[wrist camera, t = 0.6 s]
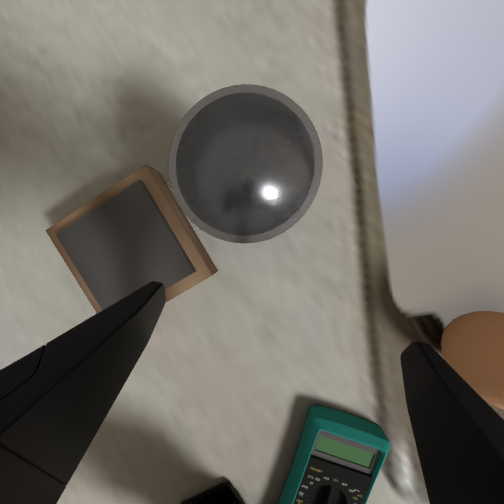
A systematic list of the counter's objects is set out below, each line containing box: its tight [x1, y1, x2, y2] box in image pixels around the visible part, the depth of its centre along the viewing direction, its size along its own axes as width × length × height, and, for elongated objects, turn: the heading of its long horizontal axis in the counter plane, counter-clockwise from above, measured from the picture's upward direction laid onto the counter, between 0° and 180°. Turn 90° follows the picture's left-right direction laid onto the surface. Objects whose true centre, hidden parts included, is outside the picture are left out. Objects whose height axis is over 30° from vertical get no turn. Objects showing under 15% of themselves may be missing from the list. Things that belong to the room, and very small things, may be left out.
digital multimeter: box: [278, 405, 391, 504], centre depth 23 cm, size 7×15×3 cm, turn 163°
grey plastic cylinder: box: [168, 84, 323, 243], centre depth 16 cm, size 7×7×13 cm
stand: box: [46, 165, 218, 313], centre depth 22 cm, size 11×11×3 cm
